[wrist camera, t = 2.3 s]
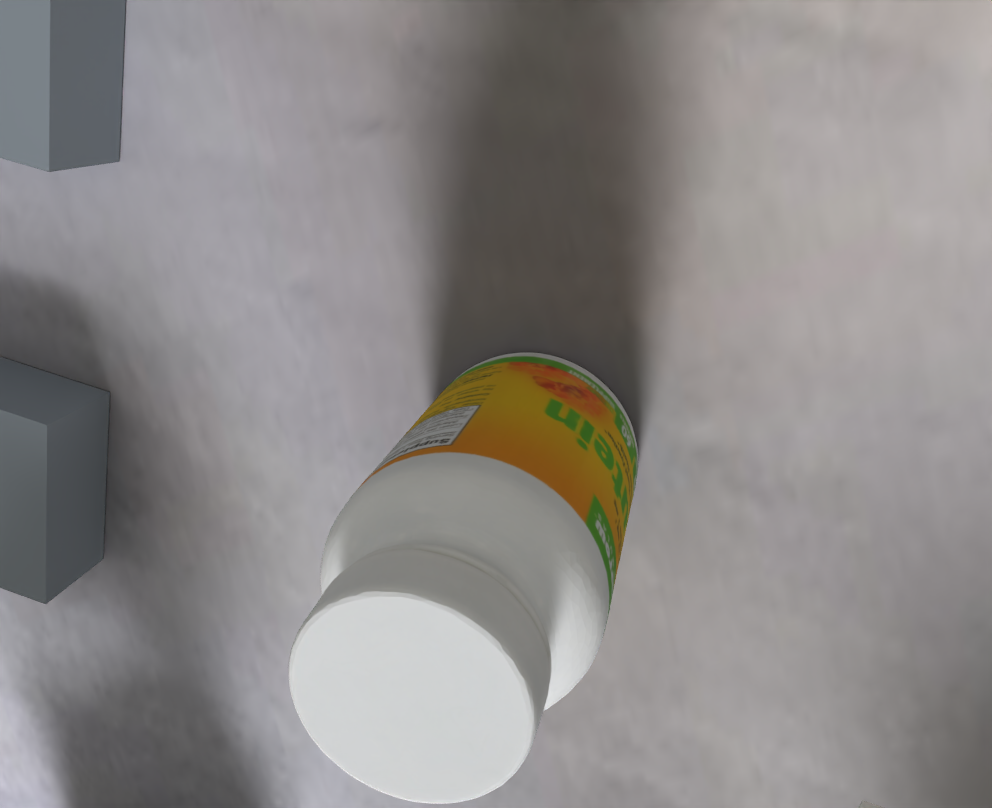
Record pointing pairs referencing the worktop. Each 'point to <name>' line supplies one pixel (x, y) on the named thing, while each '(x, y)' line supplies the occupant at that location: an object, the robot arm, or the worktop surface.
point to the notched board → (30, 391)
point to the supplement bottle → (468, 581)
